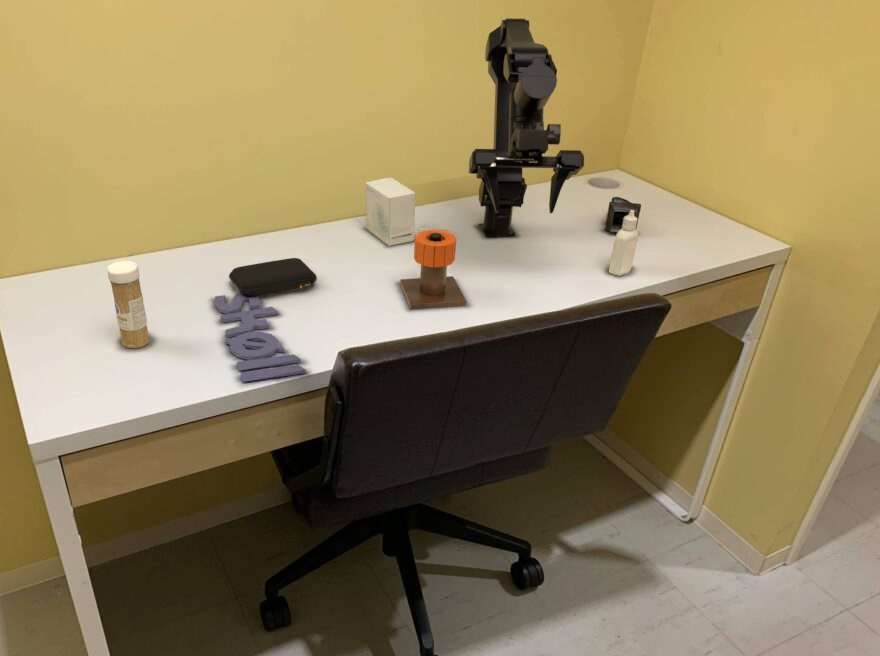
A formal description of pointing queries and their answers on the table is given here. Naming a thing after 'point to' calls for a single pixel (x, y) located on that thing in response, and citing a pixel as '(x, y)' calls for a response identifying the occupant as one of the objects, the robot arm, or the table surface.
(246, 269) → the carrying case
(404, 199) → the cosmetics box
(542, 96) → the robot arm
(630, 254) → the eye dropper bottle
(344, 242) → the table surface
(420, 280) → the stand
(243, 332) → the signage
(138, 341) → the sprinkles bottle
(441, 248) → the ring
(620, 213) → the dark grey hollow box
